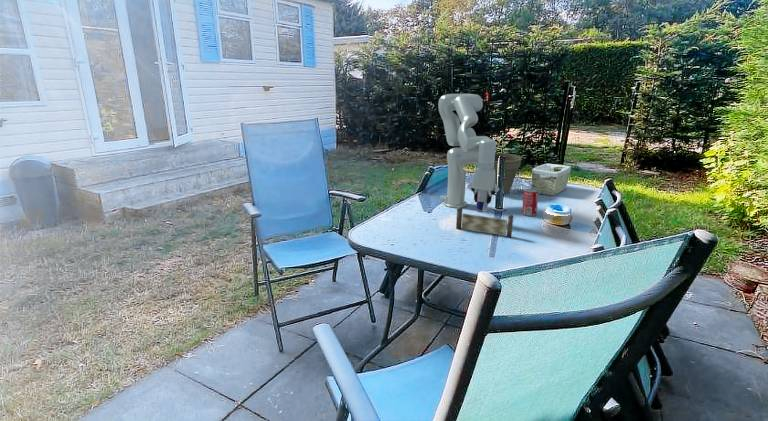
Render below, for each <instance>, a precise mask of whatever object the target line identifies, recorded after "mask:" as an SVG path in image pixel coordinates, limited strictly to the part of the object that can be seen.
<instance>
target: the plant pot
mask: <svg viewBox="0 0 768 421" xmlns="http://www.w3.org/2000/svg"><path fill="white" fill-rule="evenodd" d="M500 155H504V156H505V178H504V195H508V194H509V193H510V191H511V189H512V186H513V184H514V181H515V179H516V175H517V174H518V173H517V172H518V170H519V168H520V167H521V165H522V164H521V162H522V157H521V156H520V155H516V154H512V153H504V152H503V153H502V152H495V160H494V169H495V183H496V185H497V163H498V162H497V161H498V158H499V156H500ZM494 190H496V189H495V188H494V189H493V190H492V192H493V191H494ZM493 195H494V194H493ZM493 195H492V196H493ZM504 195H503V196H504ZM494 196H495V195H494Z"/></svg>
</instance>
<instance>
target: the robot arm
mask: <svg viewBox="0 0 768 421" xmlns="http://www.w3.org/2000/svg"><path fill="white" fill-rule="evenodd" d="M483 102H484V101H483V99H482V97H481V95H479V94H474V93H447V94H443V95H442V96H440V98H439V99H438V105H437V106H438V113H439V115H440V117H441V119H442V122H443V128H444V133H445V138H446V142H447V144H448V146H450V147H451V146H452V147H453V148H450V149H449V150H447V154H446V160H447V190H446V191H447V192H446V193H447V194H446V195H444V194H443V195H439V198H440V200H443V204H444V206H446V207H448V208H454V209H457V208H458V207H461V208H465V207H467V206H468V201H465V200H466V199H465V195H466V179H467V178H466V177H467V173H466V171H465V169H464V167H463V166H469V165H474V166H476V167H475V168H474V173H473V177H472V181H471V182H470V183H469V184H468V186H467V187H468V188H469V189H470V190H471V192H472V193H473V195H474V196H473V200H474V202H475V203H477V193H478V190H485V191H488V193H489V196H488V199H487V204H488V205H489V204H490V203H491V202H492V197H493V194H495V193H496V192H498V191H499V190H500V189H499V187H498V186H497V185H496V183H495V169H494V160H495V153H496V149H497V142H496V141H495V140H494V139H491V138H490V137H488V136H486V135H477V134H476V132H475V129H474V128H472V127H474V126H475V125H476V124H477V123H478V121H479V117H478V114H477V112H480V111H481V110H482V109H483V106H484V103H483ZM454 111H456V113H455V112H454ZM494 188H495V189H496V190H494V191H493V192H492V190H493V189H494Z"/></svg>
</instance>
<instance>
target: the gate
mask: <svg viewBox="0 0 768 421" xmlns="http://www.w3.org/2000/svg"><path fill="white" fill-rule="evenodd" d="M507 227H508V219H504V218H503V219H502V218H498V217H490V216H483V215H476V214H468V213H462V225H461V230H462V229H463V230H469V231H475V232H480V233H481V232H482V233H486V234H487V233H489V234H495V235H501V236H507Z"/></svg>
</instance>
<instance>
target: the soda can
mask: <svg viewBox="0 0 768 421" xmlns="http://www.w3.org/2000/svg"><path fill="white" fill-rule="evenodd" d="M538 202H539V193H538V190H537V189H531V187H530V188H529V187H528V188H525V189H524V191H523V197H522V209H521V213H522V215H523V216H527V217H534V216H536V215H537V213H538V212H537V211H538Z"/></svg>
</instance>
